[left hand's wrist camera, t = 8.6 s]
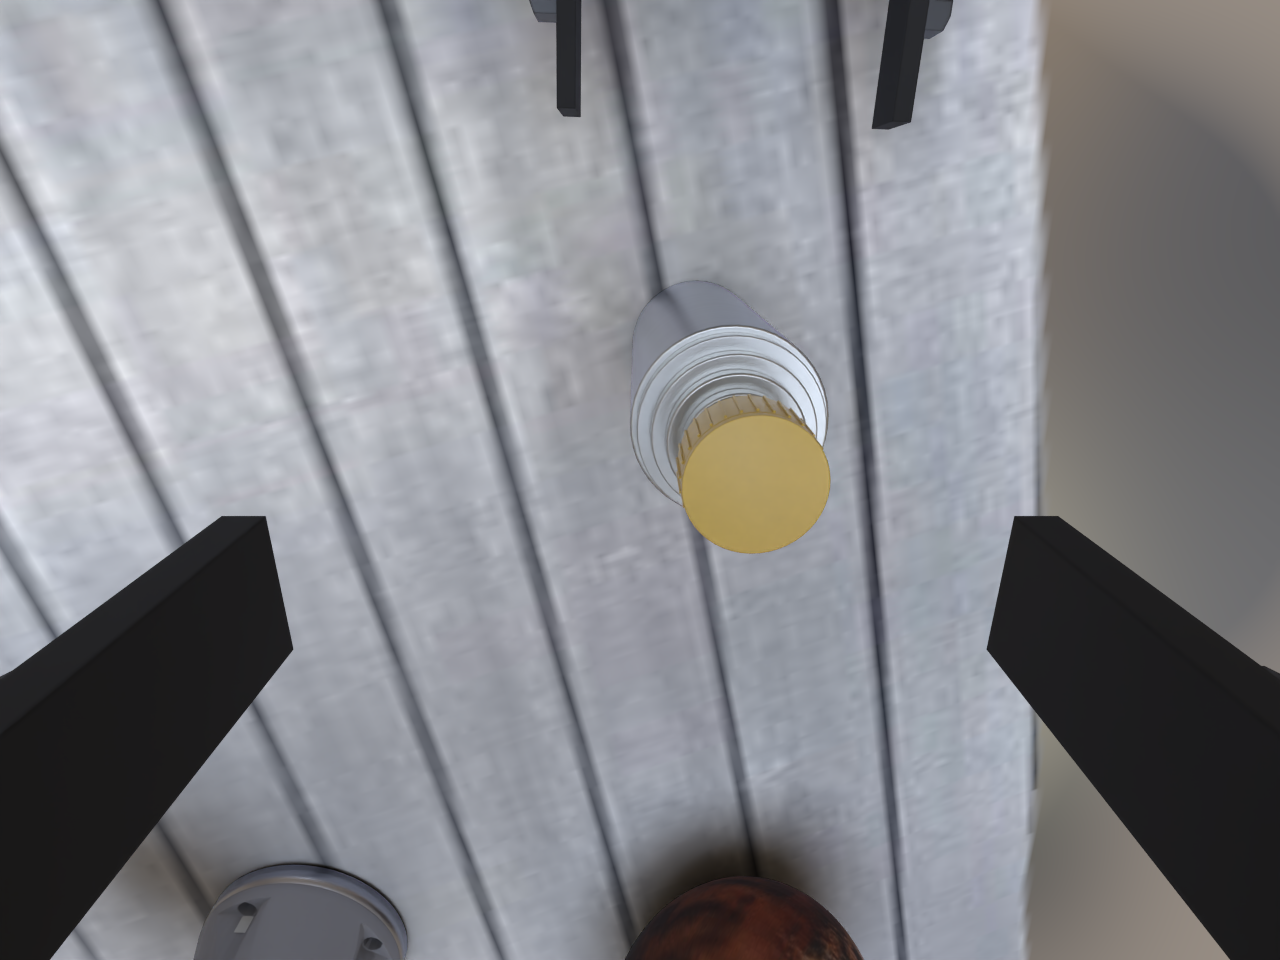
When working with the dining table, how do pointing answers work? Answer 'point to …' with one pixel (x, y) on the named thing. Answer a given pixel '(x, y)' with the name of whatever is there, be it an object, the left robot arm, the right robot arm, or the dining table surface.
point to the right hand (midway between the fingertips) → (730, 120)
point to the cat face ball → (744, 925)
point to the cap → (751, 474)
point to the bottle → (708, 371)
